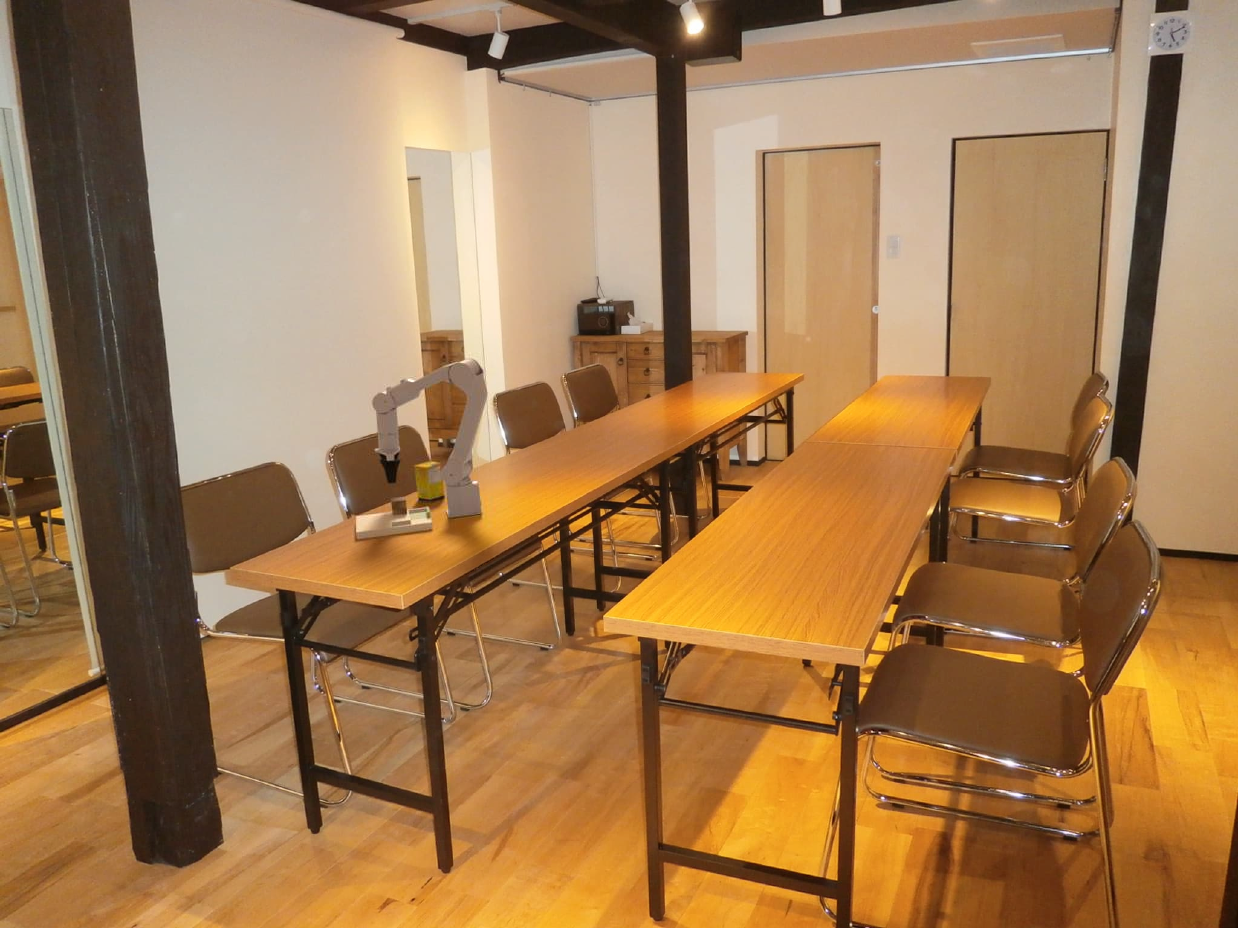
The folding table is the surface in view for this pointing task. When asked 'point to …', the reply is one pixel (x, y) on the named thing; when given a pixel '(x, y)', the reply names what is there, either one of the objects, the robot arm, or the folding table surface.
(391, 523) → the deck
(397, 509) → the block
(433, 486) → the supplement box
